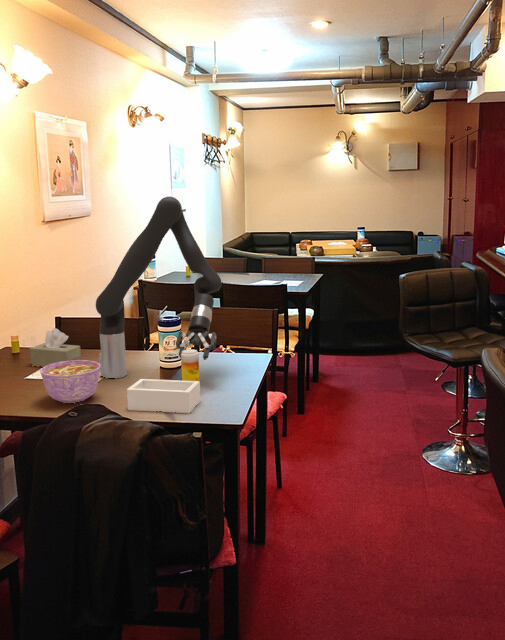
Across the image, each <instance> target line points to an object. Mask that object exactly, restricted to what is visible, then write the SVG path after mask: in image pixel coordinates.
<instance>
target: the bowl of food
mask: <svg viewBox="0 0 505 640" xmlns="http://www.w3.org/2000/svg"><path fill="white" fill-rule="evenodd" d="M100 367H101V365H100V362H98V361H94V360H86V359H81V360H72V361H63V362H57V363H53V364H50V365H47V366H45V367H43V368H40V370H39V373H40V376H41V378H42V382H43V384H44V386H45V387H44V388H45V389H46V392H47V394H48V395H49V397H50V398H51V399H53V400H55V401H58V402H61V403H62V402H63V403H62V404H65V403H74V404H76V403H75V402H79V403H81V402H80V401H82V402H84V401H85V400H86V399H89V398H90V397H91V396H92V395H94V394H95V392H96V391H97V386H98V384H99V379H100Z"/></svg>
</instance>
